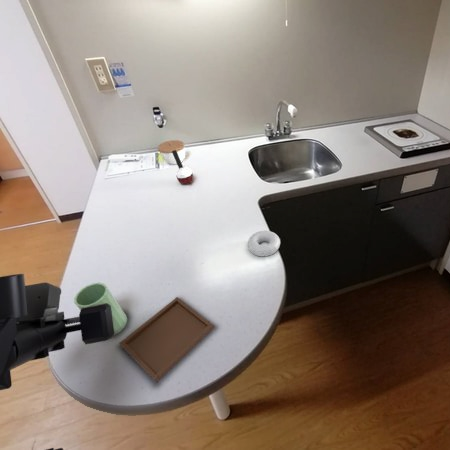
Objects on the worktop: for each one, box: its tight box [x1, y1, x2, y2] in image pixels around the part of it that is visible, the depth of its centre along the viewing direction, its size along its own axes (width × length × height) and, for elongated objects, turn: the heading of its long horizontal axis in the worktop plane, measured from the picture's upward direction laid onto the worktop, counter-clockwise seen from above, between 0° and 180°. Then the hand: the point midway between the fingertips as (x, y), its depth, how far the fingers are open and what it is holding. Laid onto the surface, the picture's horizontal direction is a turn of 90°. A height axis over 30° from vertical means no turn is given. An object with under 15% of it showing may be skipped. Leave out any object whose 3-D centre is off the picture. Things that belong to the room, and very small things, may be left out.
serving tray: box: [118, 297, 214, 384], centre depth 71 cm, size 16×14×2 cm
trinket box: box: [157, 139, 186, 166], centre depth 134 cm, size 11×11×9 cm
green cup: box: [73, 282, 128, 336], centre depth 71 cm, size 6×6×12 cm
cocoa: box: [172, 150, 194, 186], centre depth 120 cm, size 10×6×12 cm, turn 14°
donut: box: [247, 230, 281, 257], centre depth 94 cm, size 10×4×10 cm
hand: (78, 321), depth 61 cm, fingers open, 9 cm apart
